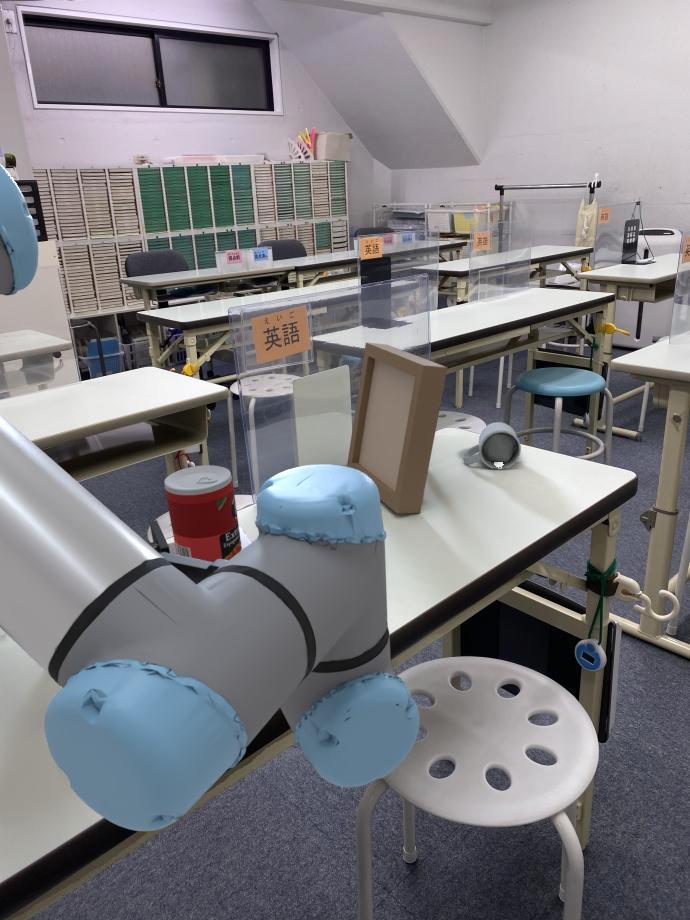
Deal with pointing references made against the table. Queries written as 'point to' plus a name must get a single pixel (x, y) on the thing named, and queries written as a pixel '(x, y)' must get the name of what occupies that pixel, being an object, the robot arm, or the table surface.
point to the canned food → (203, 513)
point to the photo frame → (396, 423)
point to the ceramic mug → (495, 446)
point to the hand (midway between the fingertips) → (219, 516)
